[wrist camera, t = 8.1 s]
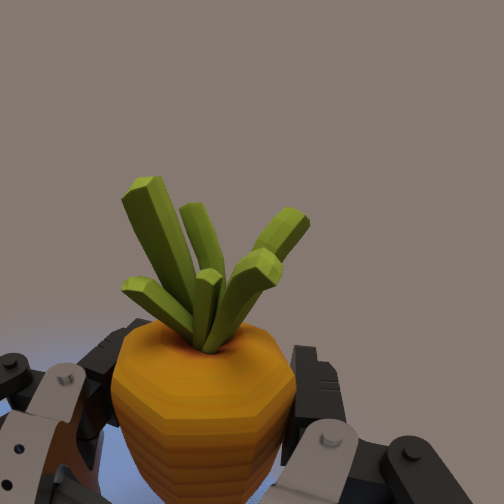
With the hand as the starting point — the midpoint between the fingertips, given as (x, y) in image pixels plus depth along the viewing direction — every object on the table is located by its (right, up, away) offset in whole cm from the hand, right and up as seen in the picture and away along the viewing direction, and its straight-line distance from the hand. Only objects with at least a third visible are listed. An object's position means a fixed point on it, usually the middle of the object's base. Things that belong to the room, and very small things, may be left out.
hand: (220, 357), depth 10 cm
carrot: (-1, -9, 0) cm, 10 cm away
